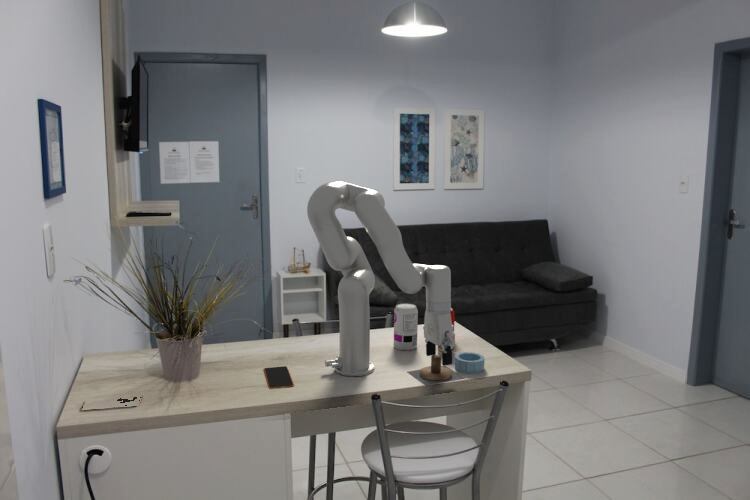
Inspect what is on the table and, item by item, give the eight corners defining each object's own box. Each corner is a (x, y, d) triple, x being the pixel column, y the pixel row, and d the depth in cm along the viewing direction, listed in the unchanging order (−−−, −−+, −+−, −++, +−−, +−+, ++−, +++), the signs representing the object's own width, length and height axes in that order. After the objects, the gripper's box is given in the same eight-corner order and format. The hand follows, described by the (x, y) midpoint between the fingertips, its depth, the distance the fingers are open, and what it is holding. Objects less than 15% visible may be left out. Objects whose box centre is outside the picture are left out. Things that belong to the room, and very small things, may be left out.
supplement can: (391, 349, 218) (391, 308, 215) (397, 342, 226) (397, 302, 223) (413, 352, 216) (414, 310, 213) (419, 344, 223) (420, 304, 221)
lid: (429, 383, 187) (430, 364, 186) (413, 371, 196) (414, 353, 195) (458, 378, 192) (458, 359, 191) (441, 367, 200) (441, 349, 199)
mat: (425, 386, 186) (425, 385, 186) (406, 372, 196) (406, 371, 196) (465, 379, 192) (465, 378, 191) (445, 366, 202) (445, 365, 202)
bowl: (464, 375, 194) (465, 363, 194) (449, 366, 202) (449, 354, 202) (489, 371, 198) (490, 359, 197) (473, 362, 206) (473, 350, 206)
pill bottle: (455, 356, 212) (456, 327, 210) (438, 355, 212) (439, 327, 211) (453, 350, 218) (454, 323, 216) (436, 350, 218) (437, 322, 216)
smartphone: (269, 390, 183) (269, 387, 182) (263, 370, 198) (263, 367, 198) (294, 387, 185) (294, 385, 184) (287, 368, 200) (287, 365, 200)
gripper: (414, 301, 196) (414, 353, 199) (442, 314, 181) (442, 370, 184) (434, 298, 199) (435, 349, 202) (464, 310, 184) (464, 366, 187)
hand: (438, 359), depth 193 cm, fingers open, 9 cm apart
